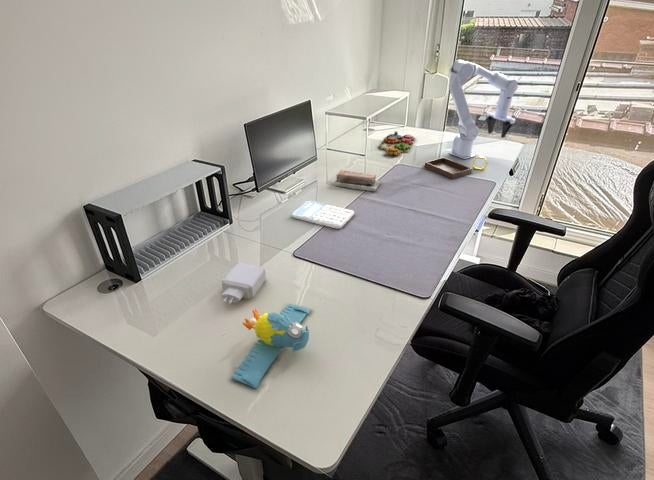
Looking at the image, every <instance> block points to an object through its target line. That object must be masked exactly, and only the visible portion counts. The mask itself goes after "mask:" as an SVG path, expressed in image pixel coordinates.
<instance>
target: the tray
mask: <svg viewBox="0 0 654 480" xmlns="http://www.w3.org/2000/svg"><path fill="white" fill-rule="evenodd" d="M424 168H426V169H428V170H431V171H433V172H435V173H437V174H440V175H442V176H444V177H446V178H450V179H451V180H454V179H457V178H460V177H463V176H468V175H471V174H472V170H473V168H472V167H469V166H467V165H464V164H462V163H460V162H458V161H454V160H452V159H449V158H447V157H445V156H444V157H443V156H442V157H438V158H436V159H431V160H428V161H425V162H424Z"/></svg>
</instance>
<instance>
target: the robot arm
mask: <svg viewBox="0 0 654 480" xmlns="http://www.w3.org/2000/svg"><path fill="white" fill-rule="evenodd" d="M449 73H450V76H449V83H448V89H449V93H450V95H451V98H452V101H453V105H454V108H455V110H456V113H457V116H458V120H459V121H458V132H459V134H458V135H456V136H455V137H454V139H453V142H452V146H451V152H449V154H450V155H452V156H455V157H458V158H460V159H463V160H466V159H467V160H468V159H470V158H474V157H476V155H475V154H473V150H474V144H475V140H476V138H477V137H478V136H479V134H480V128H479V127H478V126H477V125H476V122H475V121H474V119H473V118H472V116H471V112H470V108H469V105H468V102H467V98H466V95H465V92H464V88H463V86H464V84H466V83H467V81H468V80H469V79H470V78H471V77H474V76H476V75H477V76H479V77H482V78H484V79H486V80H487V82H488V84H489V85H490V86H492V87H495V88H497V89H499V90H500V92H499V97H498V100H497V104H496V109H495V112H491V111H489V112H488V111H487V113H486V120H485V121H486V123H487V133H488V134H492V133H493V132H494V128H495V124H496V122H497V120H499V121H503V122H502V131H501V135H500V138H502V139H503V138H506V135H507V134H508V132H509V131H510V129H511V128H512V127H513V126H514V124H515V122H516V118H513V117H512V116H509V112H510V109H511V104H512V100H513V96H514V94H515V93H516V91H517V90H518V88H519V86H518V82H517V80H516V79H514V78H511V77H510V75H505V74H503V71H501V70H494V71H490V70H488V69H487V68H485V67H483V66H481V65H479V64H476V63H474V62H471V61H467V60H464V59H460V58H459V59H457V60H455V61H454V62H453V63H452V65H451V67H450V69H449Z"/></svg>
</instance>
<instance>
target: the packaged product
mask: <svg viewBox="0 0 654 480" xmlns="http://www.w3.org/2000/svg"><path fill="white" fill-rule="evenodd" d="M335 178H336V179H335V181H334V186H335V187H341V188H347V189H353V190H363V191H367V192H373V193H375V192H376V191H377V189H378V187H380V186H379V185H381V180H377V179H376V178H377V175H375V174H371V173H370V174H369V173H364V172H363V173H362V172H358V171H357V172H356V171H350V170H340V171H339V172H338V173H337V174H336V177H335Z"/></svg>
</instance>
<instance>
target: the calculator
mask: <svg viewBox="0 0 654 480" xmlns="http://www.w3.org/2000/svg"><path fill="white" fill-rule="evenodd" d="M291 216H292V218H294V219H297V220H300V221H304V222H308V223H312V224H317V225H320V226H324V227H327V228H330V229H331V228H332V229H337V230H339V229H342V228H343V227H344V226H345V225H346V224H347V223H348V222H349V221H350V220H351V219H352V218H353V217H354V216H355V211H354V210H352V209H348V208H344V207H339V206H335V205H331V204H327V203H322V202H318V201H314V200H307V201H305V203H303V204H302V205H301V206H299V207H298V208H297V209H296V210H294V211H293V212H292V215H291Z"/></svg>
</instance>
